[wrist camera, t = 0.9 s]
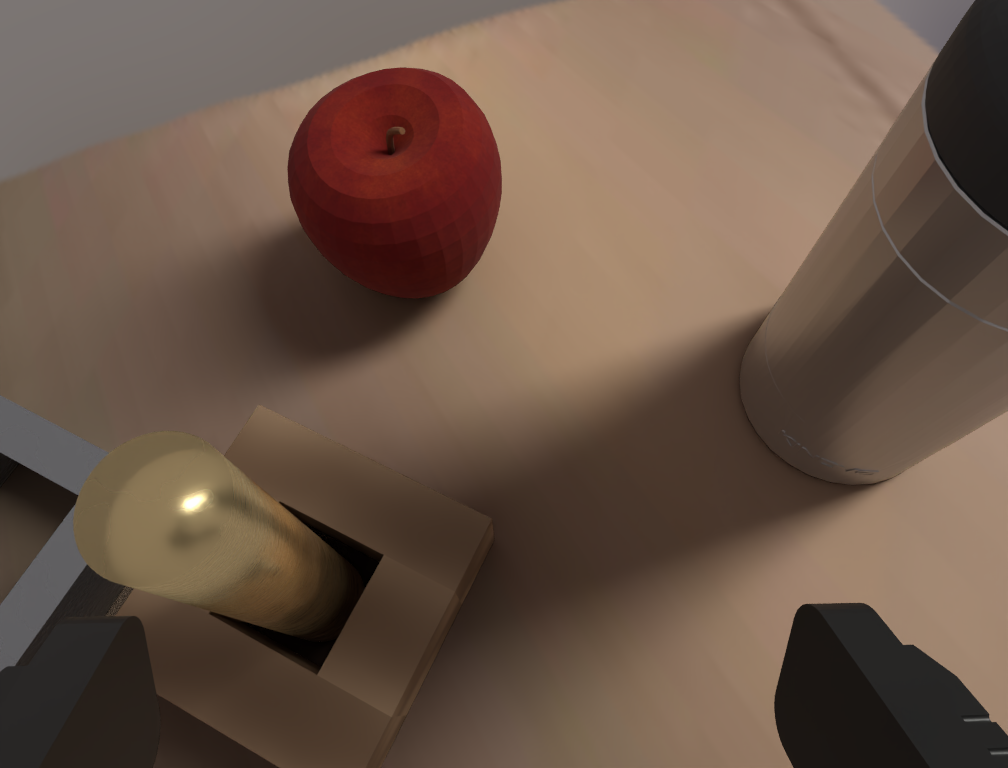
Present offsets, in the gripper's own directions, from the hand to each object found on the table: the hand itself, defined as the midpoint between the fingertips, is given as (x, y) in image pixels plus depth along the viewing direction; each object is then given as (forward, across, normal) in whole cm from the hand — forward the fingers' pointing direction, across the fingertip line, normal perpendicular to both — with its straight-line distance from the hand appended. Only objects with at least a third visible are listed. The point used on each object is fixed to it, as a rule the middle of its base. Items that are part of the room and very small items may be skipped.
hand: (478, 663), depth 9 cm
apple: (+31, +2, +2) cm, 31 cm away
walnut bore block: (+19, +5, +14) cm, 24 cm away
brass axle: (+19, +5, +14) cm, 24 cm away
